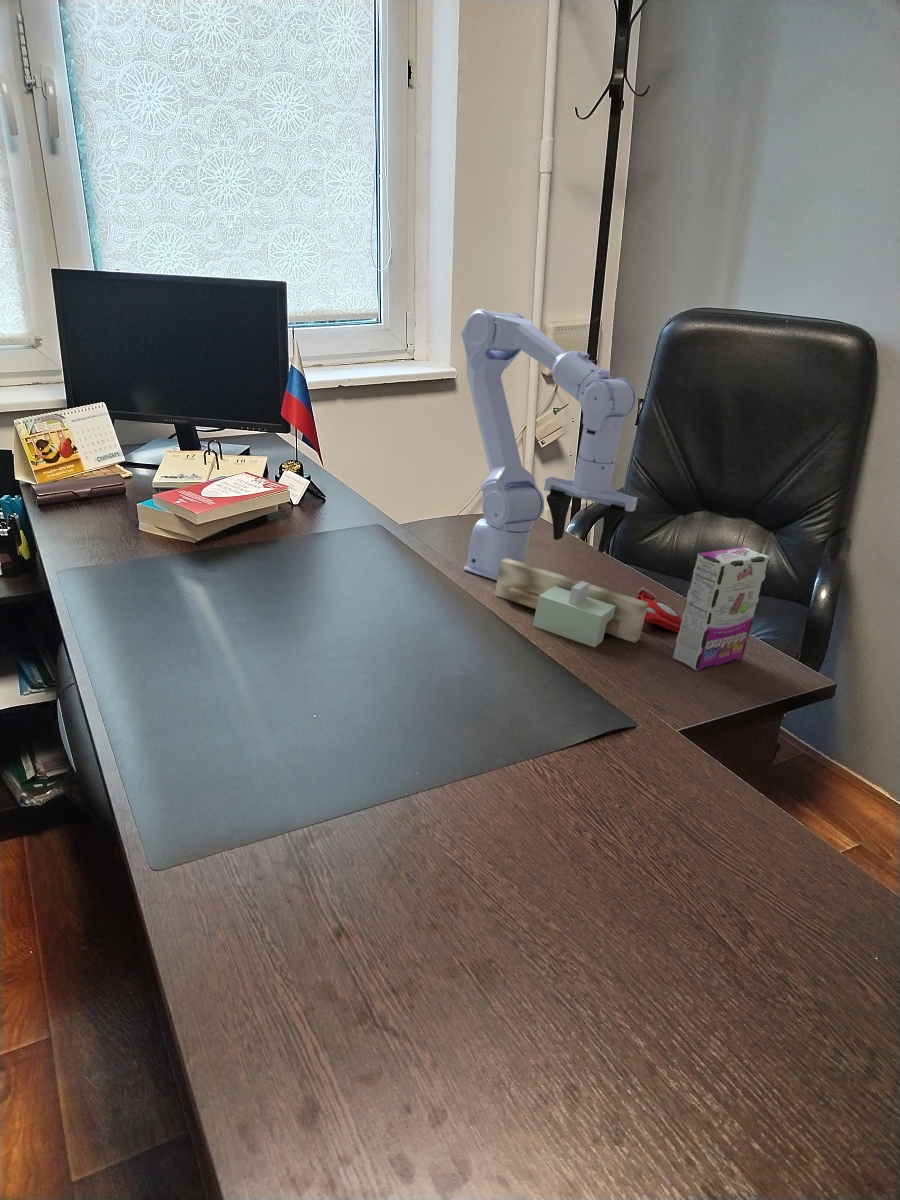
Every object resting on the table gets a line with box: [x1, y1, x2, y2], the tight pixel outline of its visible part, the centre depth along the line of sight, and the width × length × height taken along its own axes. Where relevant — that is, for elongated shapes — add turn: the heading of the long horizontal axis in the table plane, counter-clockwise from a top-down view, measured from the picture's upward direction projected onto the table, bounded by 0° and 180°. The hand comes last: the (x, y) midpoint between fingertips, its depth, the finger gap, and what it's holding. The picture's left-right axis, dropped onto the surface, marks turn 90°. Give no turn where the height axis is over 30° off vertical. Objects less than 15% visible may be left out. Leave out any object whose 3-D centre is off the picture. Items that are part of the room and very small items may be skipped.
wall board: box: [494, 558, 648, 644], centre depth 129 cm, size 24×4×6 cm, turn 59°
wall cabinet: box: [532, 580, 616, 648], centre depth 124 cm, size 10×6×8 cm, turn 59°
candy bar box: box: [671, 546, 772, 672], centre depth 120 cm, size 11×5×16 cm, turn 126°
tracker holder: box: [636, 586, 682, 634], centre depth 134 cm, size 12×4×10 cm
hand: (579, 544), depth 131 cm, fingers open, 7 cm apart
